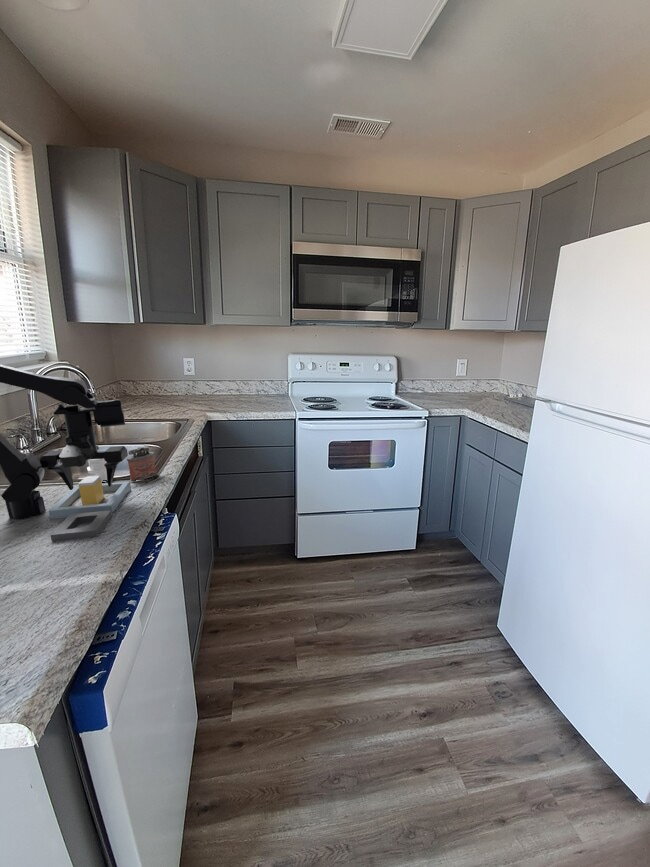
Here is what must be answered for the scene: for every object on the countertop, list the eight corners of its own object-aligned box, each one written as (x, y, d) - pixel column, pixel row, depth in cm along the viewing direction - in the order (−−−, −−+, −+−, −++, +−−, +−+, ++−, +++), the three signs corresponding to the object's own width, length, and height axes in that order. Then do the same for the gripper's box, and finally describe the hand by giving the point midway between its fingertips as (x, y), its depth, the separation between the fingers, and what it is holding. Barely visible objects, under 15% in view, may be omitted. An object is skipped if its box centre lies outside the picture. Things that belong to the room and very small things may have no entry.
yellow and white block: (82, 507, 102) (78, 483, 101) (90, 499, 107) (86, 476, 105) (97, 505, 103) (93, 482, 101) (104, 498, 108) (100, 475, 106)
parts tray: (51, 522, 96) (48, 510, 96) (78, 495, 112) (76, 485, 111) (113, 516, 99) (111, 505, 98) (131, 491, 114) (129, 481, 113)
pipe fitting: (110, 484, 119) (105, 459, 117) (84, 486, 118) (80, 460, 116) (118, 477, 125) (114, 452, 123) (94, 478, 124) (90, 454, 122)
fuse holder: (52, 545, 86) (50, 534, 85) (72, 523, 95) (70, 514, 95) (97, 540, 87) (95, 530, 87) (112, 519, 97) (111, 510, 96)
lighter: (153, 473, 128) (149, 443, 125) (158, 475, 126) (154, 445, 123) (128, 481, 122) (123, 449, 119) (133, 483, 120) (128, 451, 117)
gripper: (21, 441, 91) (35, 504, 95) (109, 435, 94) (119, 496, 98) (45, 429, 101) (57, 486, 105) (123, 424, 104) (132, 480, 108)
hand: (91, 487), depth 104 cm, fingers open, 9 cm apart
